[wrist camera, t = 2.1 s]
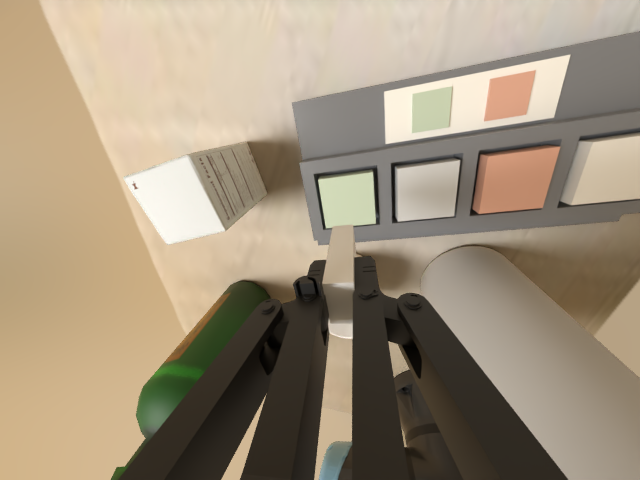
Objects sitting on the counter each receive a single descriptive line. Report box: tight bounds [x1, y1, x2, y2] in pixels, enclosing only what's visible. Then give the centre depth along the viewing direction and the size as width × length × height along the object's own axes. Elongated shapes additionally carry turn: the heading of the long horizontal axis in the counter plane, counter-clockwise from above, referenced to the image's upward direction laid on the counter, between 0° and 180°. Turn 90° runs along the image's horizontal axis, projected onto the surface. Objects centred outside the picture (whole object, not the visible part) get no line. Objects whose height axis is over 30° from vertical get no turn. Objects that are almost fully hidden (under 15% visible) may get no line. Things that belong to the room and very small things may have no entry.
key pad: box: [292, 31, 640, 245], centre depth 25 cm, size 18×36×4 cm, turn 99°
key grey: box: [395, 158, 460, 222], centre depth 25 cm, size 6×6×2 cm
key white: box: [559, 132, 640, 205], centre depth 22 cm, size 6×6×2 cm
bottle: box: [111, 281, 270, 480], centre depth 30 cm, size 11×11×28 cm
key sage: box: [318, 169, 376, 228], centre depth 27 cm, size 6×6×2 cm
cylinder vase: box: [420, 246, 640, 480], centre depth 24 cm, size 12×12×25 cm
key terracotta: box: [472, 145, 560, 214], centre depth 24 cm, size 6×6×2 cm
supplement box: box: [123, 142, 267, 245], centre depth 26 cm, size 7×7×13 cm
